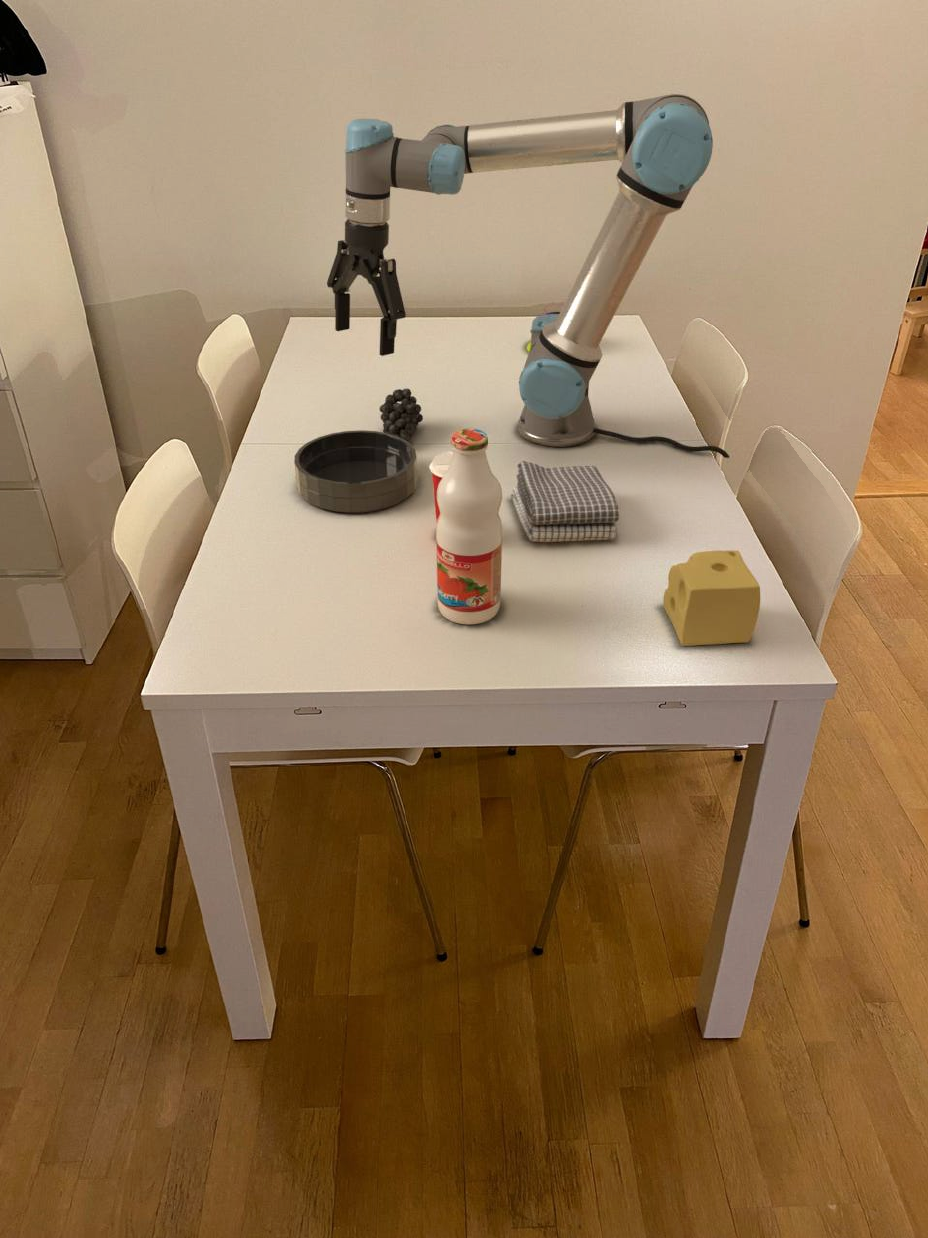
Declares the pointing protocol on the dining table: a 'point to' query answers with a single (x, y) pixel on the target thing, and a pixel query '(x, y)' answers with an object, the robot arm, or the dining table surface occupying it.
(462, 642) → the dining table surface
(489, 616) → the fruit juice
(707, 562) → the cheese
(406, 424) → the fruit
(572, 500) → the towel
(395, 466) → the bowl
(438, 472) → the paper cup
